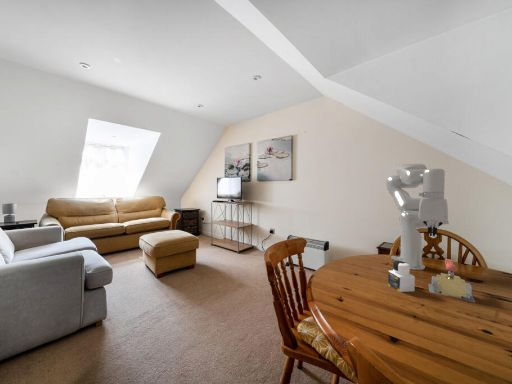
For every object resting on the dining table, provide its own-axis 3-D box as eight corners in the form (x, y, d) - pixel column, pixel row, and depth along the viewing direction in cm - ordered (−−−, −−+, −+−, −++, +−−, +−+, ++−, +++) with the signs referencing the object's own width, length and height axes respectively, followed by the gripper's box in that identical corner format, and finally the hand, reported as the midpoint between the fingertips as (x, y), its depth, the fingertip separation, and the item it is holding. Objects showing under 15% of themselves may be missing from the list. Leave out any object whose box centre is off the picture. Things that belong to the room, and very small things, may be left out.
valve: (432, 292, 90) (432, 269, 90) (431, 286, 95) (432, 265, 95) (471, 301, 83) (472, 277, 83) (468, 294, 88) (469, 271, 88)
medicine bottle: (387, 285, 98) (388, 259, 97) (402, 284, 99) (402, 259, 98) (399, 293, 91) (399, 265, 90) (414, 292, 91) (415, 265, 91)
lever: (446, 270, 88) (446, 265, 88) (443, 263, 96) (443, 258, 96) (456, 272, 87) (457, 267, 86) (453, 264, 94) (453, 260, 94)
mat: (429, 293, 91) (429, 291, 91) (428, 285, 98) (428, 283, 98) (475, 304, 82) (475, 302, 82) (470, 294, 89) (471, 292, 89)
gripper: (412, 195, 98) (411, 235, 99) (457, 196, 89) (455, 240, 90) (412, 195, 104) (411, 232, 105) (454, 195, 95) (453, 236, 96)
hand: (432, 235), depth 97 cm, fingers closed
